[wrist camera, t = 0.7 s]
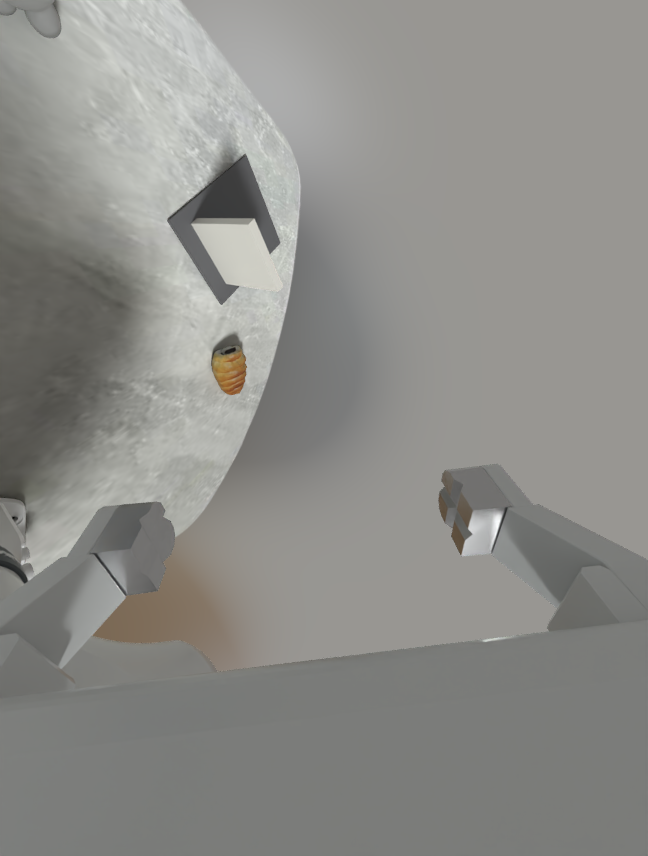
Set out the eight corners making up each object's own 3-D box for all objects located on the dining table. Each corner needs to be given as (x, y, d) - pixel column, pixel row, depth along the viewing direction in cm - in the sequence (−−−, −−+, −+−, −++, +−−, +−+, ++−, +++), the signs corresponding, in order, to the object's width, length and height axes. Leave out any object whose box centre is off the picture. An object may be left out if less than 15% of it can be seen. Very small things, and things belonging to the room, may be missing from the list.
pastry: (243, 385, 68) (256, 390, 66) (216, 399, 63) (230, 404, 61) (234, 341, 62) (248, 345, 60) (205, 353, 58) (219, 357, 56)
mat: (220, 304, 57) (222, 304, 56) (167, 220, 45) (168, 220, 45) (278, 242, 63) (280, 243, 63) (244, 155, 52) (246, 155, 51)
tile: (226, 283, 56) (278, 291, 50) (190, 223, 48) (247, 224, 42) (232, 277, 56) (284, 284, 51) (198, 217, 48) (255, 217, 43)
